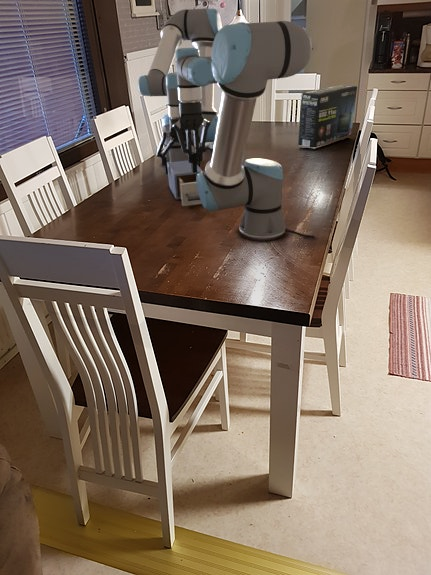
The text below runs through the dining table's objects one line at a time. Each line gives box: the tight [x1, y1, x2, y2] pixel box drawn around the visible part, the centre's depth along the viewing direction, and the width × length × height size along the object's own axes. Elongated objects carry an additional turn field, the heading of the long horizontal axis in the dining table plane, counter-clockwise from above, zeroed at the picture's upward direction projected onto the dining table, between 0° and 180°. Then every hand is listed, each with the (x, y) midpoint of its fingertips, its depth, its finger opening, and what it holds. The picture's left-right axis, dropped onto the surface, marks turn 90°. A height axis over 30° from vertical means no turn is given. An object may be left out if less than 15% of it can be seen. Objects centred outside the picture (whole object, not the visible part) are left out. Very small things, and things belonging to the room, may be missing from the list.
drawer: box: [177, 174, 202, 207], centre depth 173 cm, size 21×10×8 cm, turn 15°
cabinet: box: [167, 160, 204, 200], centre depth 184 cm, size 17×11×10 cm, turn 15°
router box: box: [297, 84, 358, 151], centre depth 238 cm, size 36×11×27 cm, turn 134°
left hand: (182, 171), depth 187 cm, fingers open, 13 cm apart
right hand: (194, 171), depth 163 cm, fingers closed
